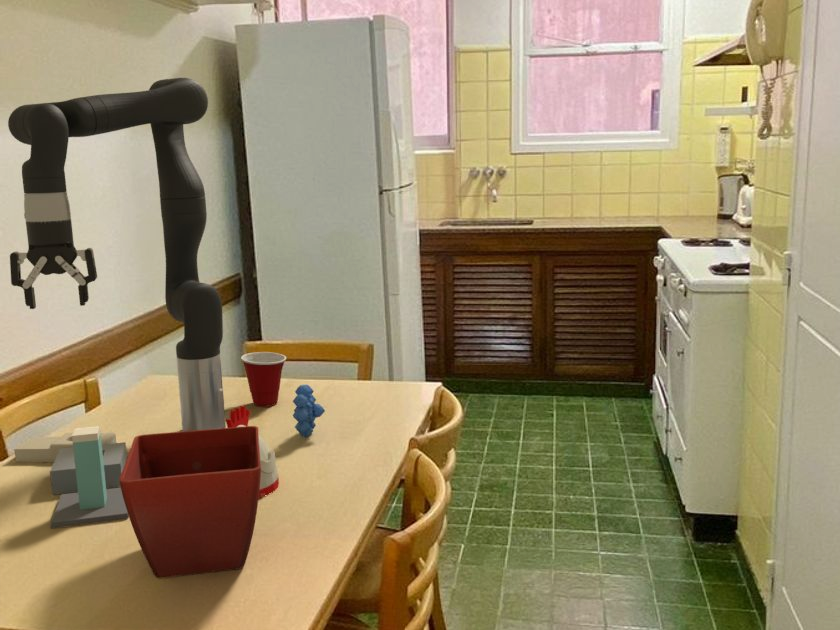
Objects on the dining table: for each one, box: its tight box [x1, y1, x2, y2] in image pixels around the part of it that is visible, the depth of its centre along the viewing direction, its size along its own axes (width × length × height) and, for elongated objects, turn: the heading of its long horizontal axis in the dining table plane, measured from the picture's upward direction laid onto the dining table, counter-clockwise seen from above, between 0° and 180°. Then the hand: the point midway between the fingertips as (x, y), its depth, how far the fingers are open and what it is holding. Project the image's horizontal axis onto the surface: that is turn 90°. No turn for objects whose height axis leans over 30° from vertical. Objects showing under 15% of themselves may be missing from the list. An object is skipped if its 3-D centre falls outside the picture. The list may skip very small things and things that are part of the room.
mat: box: [50, 487, 129, 529], centre depth 143 cm, size 12×12×1 cm
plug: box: [72, 425, 107, 510], centre depth 142 cm, size 4×4×13 cm
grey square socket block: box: [49, 441, 128, 496], centre depth 157 cm, size 12×12×4 cm
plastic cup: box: [240, 351, 287, 408], centre depth 201 cm, size 11×11×12 cm
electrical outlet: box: [13, 432, 117, 463], centre depth 169 cm, size 7×4×18 cm
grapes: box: [292, 384, 326, 438], centre depth 176 cm, size 12×7×12 cm, turn 176°
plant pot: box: [119, 425, 261, 579], centre depth 124 cm, size 19×19×17 cm
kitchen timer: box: [225, 405, 280, 499], centre depth 150 cm, size 14×14×15 cm
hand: (58, 306), depth 152 cm, fingers open, 8 cm apart
